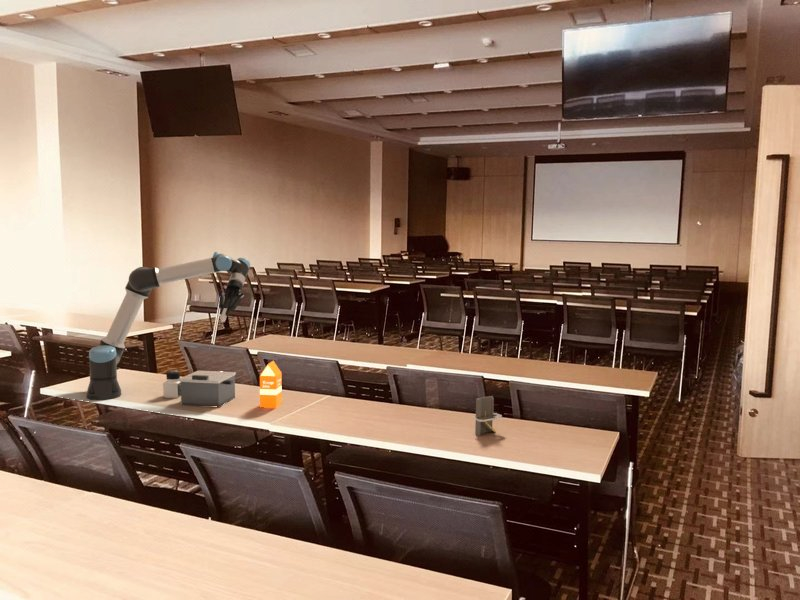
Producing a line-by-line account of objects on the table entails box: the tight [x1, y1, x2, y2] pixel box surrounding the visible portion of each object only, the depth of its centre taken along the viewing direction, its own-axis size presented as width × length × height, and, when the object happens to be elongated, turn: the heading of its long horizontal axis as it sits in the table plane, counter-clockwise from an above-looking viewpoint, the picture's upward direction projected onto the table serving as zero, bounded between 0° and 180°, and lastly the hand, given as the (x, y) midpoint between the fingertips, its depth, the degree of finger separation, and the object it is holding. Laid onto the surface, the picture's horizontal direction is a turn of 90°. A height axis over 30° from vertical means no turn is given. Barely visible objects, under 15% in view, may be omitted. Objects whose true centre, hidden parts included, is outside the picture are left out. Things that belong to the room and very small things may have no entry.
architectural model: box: [473, 395, 503, 437], centre depth 252 cm, size 20×25×15 cm
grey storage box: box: [180, 375, 236, 408], centre depth 295 cm, size 18×23×11 cm
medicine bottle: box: [162, 370, 181, 399], centre depth 305 cm, size 7×7×12 cm
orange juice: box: [259, 360, 283, 409], centre depth 290 cm, size 8×9×20 cm
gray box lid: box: [179, 370, 237, 384], centre depth 295 cm, size 20×19×3 cm
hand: (222, 320), depth 309 cm, fingers closed
